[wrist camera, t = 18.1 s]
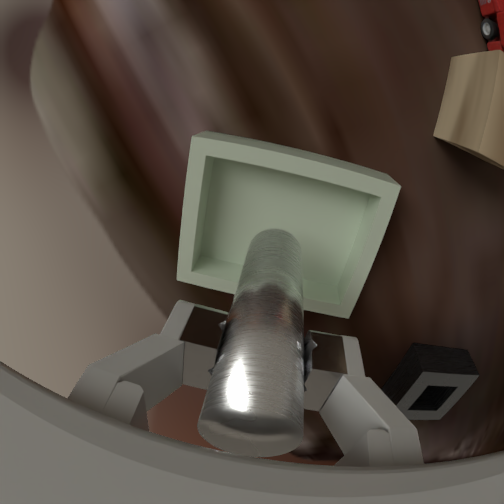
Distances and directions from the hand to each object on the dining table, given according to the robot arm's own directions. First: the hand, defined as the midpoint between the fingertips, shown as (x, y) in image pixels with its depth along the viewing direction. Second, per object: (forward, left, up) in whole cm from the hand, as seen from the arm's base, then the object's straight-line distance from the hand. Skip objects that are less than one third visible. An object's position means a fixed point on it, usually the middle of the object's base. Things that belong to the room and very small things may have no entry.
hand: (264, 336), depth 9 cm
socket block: (-15, +10, -10) cm, 20 cm away
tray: (0, 0, -10) cm, 10 cm away
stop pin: (0, 0, -6) cm, 6 cm away
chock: (-9, -10, -10) cm, 16 cm away
